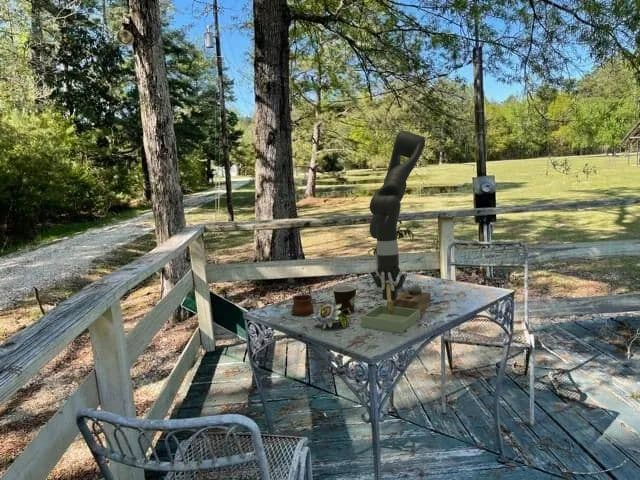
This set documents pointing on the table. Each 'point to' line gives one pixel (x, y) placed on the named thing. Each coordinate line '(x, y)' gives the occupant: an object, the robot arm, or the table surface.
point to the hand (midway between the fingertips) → (390, 299)
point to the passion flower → (330, 314)
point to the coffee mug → (345, 298)
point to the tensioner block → (413, 299)
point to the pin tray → (390, 319)
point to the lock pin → (389, 299)
